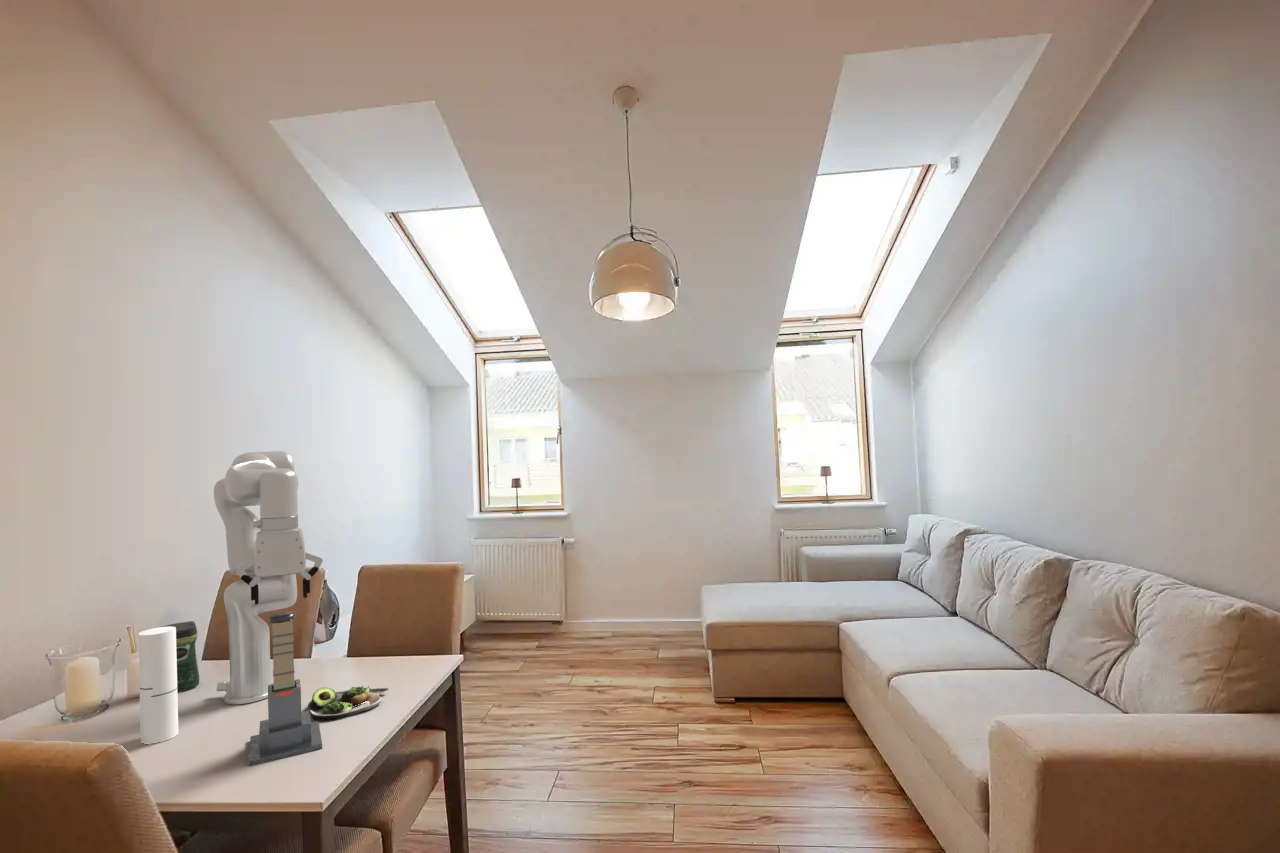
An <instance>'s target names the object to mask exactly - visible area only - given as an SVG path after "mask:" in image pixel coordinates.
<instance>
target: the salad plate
mask: <svg viewBox="0 0 1280 853" xmlns="http://www.w3.org/2000/svg"><path fill="white" fill-rule="evenodd" d="M388 690H389V687H383V688H380V687H378V688H370V686H369V685H368V686H367V687H364V685H362V686H357V687H356V686H352V687H351V688H349V689H348V690H344V691H335V690H334V689H332V688H330V687H320V688H317V689H316V690H315V691H314V692H313V694H312V696H311V700H310V701H308V703H307V708H308V710H307V711H309V713H310V718H312V719H313V720H315V721H332V720H339V719H342V717H343V718H346V717H349V715H350V716H353V714H354V715H356V713H357V714H360V713H363V712H366V711H368V709H369V710H372V709H374V708H375V707H377V706H378V705H379V704H380V703H381V702H382V700H383V699H382V697H381V696H380V694H382V693H384V692H387V691H388ZM365 701H369V702H370V705H368V704H367V705H366V706H364V707H361V708H358V709H355V710H352V709H353V708H354V707H353V706H355V705H358V704H361V703H363V702H365ZM358 706H359V705H358ZM352 707H353V708H352ZM355 707H356V706H355ZM371 708H372V709H371ZM365 710H366V711H365ZM362 711H363V712H362ZM359 712H360V713H359ZM338 718H339V719H338Z"/></svg>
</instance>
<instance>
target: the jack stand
mask: <svg viewBox="0 0 1280 853" xmlns="http://www.w3.org/2000/svg"><path fill="white" fill-rule="evenodd" d="M267 710H268V712H267V713H268V718H267V719H263V720H260V721H259V730H258V732H259V734H256V735H251V736H250V738H249V750H248V767H250V765H251V766H254V764H255V765H259V764H263V763H267V761H268V762H271V761H275V760H279V759H283V758H288V757H292V756H296V755H300V754H304V753H309V752H314V751H316V750H320V749H323V740H322V739H323V738H322V734H321V727H320V723H319V722H320V721H314V722H311V715H310V713H309V711H308V710H305V711H302V689H301V679H295V686H294V688H291V689H285V690H280V691H275V692H274V689H273V684H272V685H268V698H267ZM262 762H263V763H262ZM258 763H259V764H258Z"/></svg>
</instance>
